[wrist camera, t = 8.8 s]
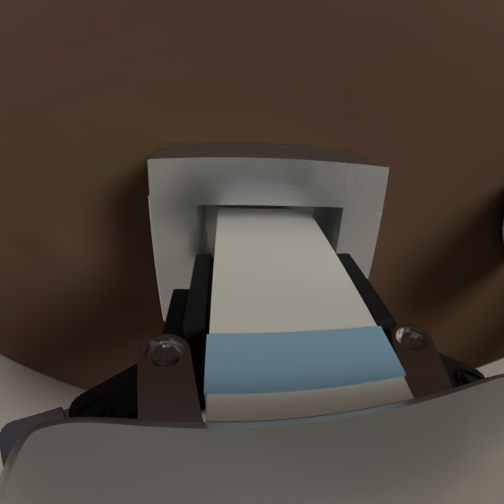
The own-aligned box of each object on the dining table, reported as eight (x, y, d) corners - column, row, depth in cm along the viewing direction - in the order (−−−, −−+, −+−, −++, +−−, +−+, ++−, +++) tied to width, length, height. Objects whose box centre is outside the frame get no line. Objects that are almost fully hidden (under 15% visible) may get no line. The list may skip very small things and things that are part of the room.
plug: (309, 208, 14) (416, 395, 5) (299, 284, 16) (358, 471, 7) (217, 207, 13) (203, 419, 5) (218, 285, 15) (216, 486, 7)
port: (348, 149, 15) (388, 167, 11) (327, 296, 19) (349, 345, 15) (166, 143, 14) (142, 159, 10) (177, 297, 18) (166, 350, 14)
